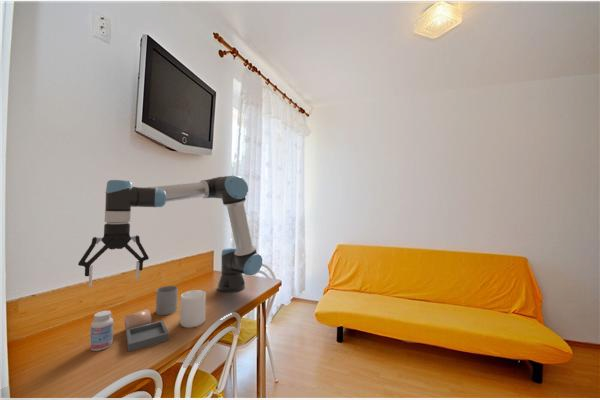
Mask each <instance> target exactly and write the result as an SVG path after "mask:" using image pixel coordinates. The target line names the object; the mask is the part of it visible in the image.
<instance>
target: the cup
mask: <svg viewBox="0 0 600 400" xmlns="http://www.w3.org/2000/svg"><path fill="white" fill-rule="evenodd" d="M178 290H179V289H178V286H176V285H165V286H162V287H158V288H157V289H156V298H155V300H156V301H155V313H156V315H158V316H167V315H171V314H174V313H176V312H177V310H178Z"/></svg>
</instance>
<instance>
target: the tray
mask: <svg viewBox="0 0 600 400" xmlns="http://www.w3.org/2000/svg"><path fill="white" fill-rule="evenodd" d="M125 330H126V331H125V336H126V337H125V338H126V343H127V350H128V352H133V351H137V350H140V349H143V348H147V347H150V346H154V345H157V344H160V343H164V342H167V341H170V332H169V330H168V328H167V326H166V324H165V322H164V320H159V321H156V322H151V323H150V324H146V325H142V326H138V327H134V328H130V329H126V328H125Z"/></svg>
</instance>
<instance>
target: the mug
mask: <svg viewBox="0 0 600 400" xmlns="http://www.w3.org/2000/svg"><path fill="white" fill-rule="evenodd" d="M206 294H207V293H206V291H205V290H199V289H197V290H196V289H195V290H188V291H186V292H183V293H182V294H181V295H180V315H179V317H180V318H179V321H180V324H179V325H180V326H182V327H183V328H185V329H186V328H188V329H190V328H191V329H192V328H196V327H200V326H201V325H202V324H203V323H205V321H206V300H207V299H206V296H207V295H206Z"/></svg>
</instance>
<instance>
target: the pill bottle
mask: <svg viewBox="0 0 600 400" xmlns="http://www.w3.org/2000/svg"><path fill="white" fill-rule="evenodd" d="M113 339H114V319H113V317H112V311H111V310H102V311H98V312H96V313H95V314H93V321H92V322H91V324H90V344H89V345H90V347H89V349H90V350H91V351H93V352H98V351H99V352H100V351H103V350H106V349H107V348H109V347H110V346H112V345H113V342H114V340H113Z"/></svg>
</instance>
